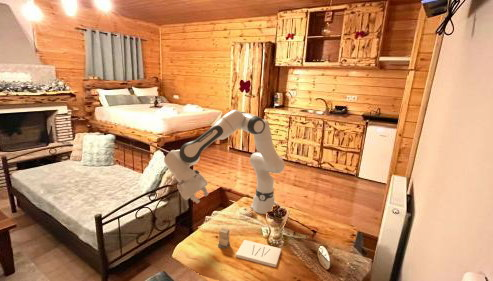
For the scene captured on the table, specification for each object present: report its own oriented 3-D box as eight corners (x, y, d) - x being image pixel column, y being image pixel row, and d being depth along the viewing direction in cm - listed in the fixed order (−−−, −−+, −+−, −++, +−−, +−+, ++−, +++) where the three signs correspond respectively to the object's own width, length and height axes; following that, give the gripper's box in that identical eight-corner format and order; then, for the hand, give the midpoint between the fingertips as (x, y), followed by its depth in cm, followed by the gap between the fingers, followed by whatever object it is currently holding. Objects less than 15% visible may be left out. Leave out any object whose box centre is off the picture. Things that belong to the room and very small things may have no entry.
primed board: (244, 242, 137) (244, 239, 137) (281, 251, 131) (281, 248, 131) (235, 256, 125) (235, 254, 125) (275, 267, 119) (276, 264, 119)
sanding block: (221, 241, 137) (222, 226, 135) (229, 243, 135) (230, 228, 134) (218, 246, 132) (218, 231, 131) (226, 248, 131) (226, 233, 129)
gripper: (179, 180, 123) (197, 203, 122) (199, 169, 142) (215, 188, 141) (171, 188, 125) (188, 210, 124) (192, 175, 144) (207, 195, 143)
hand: (203, 198), depth 133 cm, fingers open, 8 cm apart
